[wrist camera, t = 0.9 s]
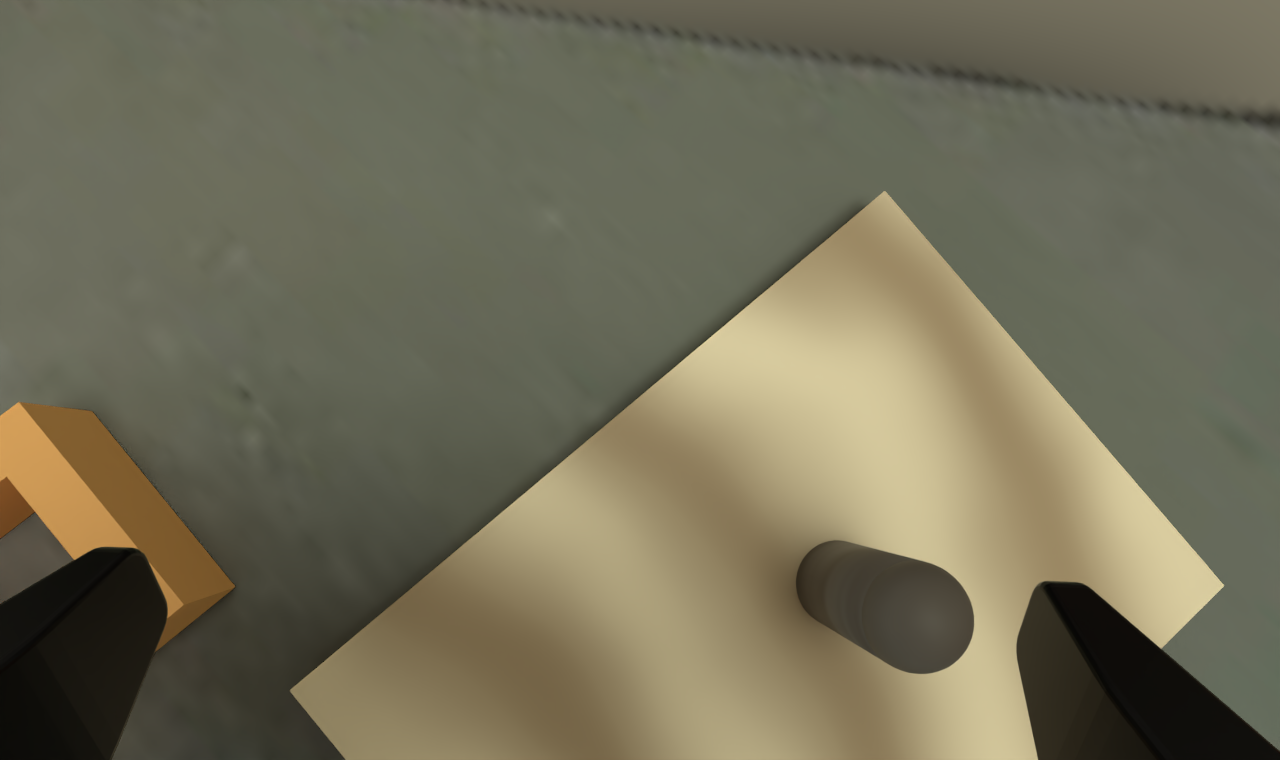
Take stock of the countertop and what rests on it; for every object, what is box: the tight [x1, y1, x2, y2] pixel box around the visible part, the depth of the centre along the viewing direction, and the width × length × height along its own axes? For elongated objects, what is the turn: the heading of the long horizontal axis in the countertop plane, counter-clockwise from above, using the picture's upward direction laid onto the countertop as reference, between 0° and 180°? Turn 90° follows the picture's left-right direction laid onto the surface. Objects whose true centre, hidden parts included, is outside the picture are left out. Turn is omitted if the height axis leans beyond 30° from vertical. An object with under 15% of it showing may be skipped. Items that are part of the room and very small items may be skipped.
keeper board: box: [289, 191, 1224, 760], centre depth 19 cm, size 20×14×8 cm
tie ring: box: [0, 402, 235, 652], centre depth 20 cm, size 6×6×3 cm
